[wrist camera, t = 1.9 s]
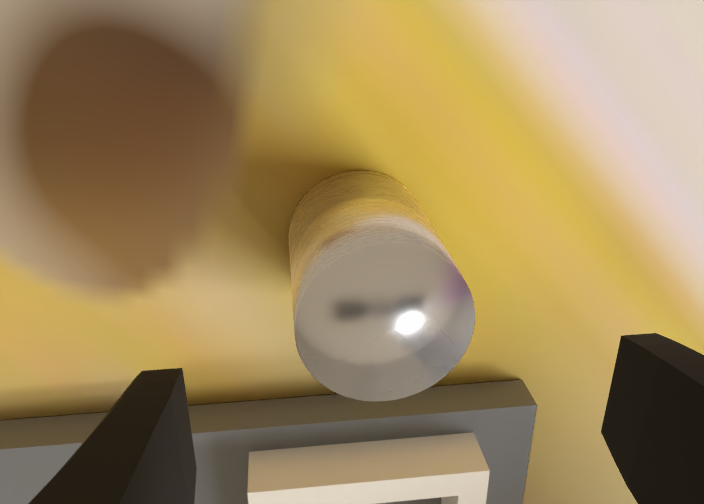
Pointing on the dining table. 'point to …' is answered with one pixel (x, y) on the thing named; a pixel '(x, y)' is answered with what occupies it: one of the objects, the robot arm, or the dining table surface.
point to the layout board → (322, 448)
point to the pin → (374, 290)
